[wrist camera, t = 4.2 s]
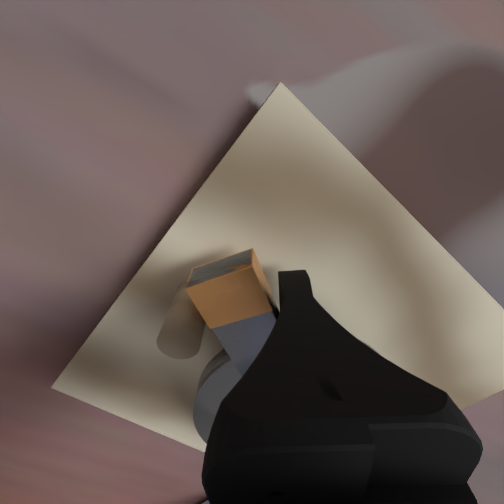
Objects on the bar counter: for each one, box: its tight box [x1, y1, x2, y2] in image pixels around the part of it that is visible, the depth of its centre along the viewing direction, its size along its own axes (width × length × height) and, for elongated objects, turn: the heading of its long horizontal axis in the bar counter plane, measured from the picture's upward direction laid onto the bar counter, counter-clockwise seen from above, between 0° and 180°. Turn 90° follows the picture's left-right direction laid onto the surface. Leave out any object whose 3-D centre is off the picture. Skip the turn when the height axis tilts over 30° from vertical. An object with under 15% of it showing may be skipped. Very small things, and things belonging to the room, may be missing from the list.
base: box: [51, 82, 504, 452], centre depth 14 cm, size 20×20×6 cm
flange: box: [185, 248, 379, 444], centre depth 13 cm, size 14×10×1 cm
